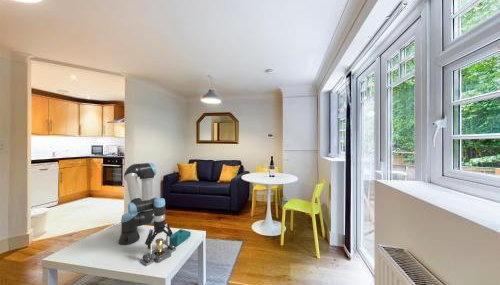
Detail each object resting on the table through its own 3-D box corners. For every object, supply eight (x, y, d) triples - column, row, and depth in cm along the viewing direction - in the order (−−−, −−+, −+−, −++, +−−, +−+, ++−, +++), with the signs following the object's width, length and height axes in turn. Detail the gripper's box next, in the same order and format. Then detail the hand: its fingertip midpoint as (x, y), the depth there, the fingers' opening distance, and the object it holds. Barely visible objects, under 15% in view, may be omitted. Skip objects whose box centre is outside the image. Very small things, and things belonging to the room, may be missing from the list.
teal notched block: (176, 247, 157) (177, 235, 157) (165, 244, 160) (166, 231, 160) (190, 237, 174) (191, 225, 174) (180, 234, 177) (181, 223, 177)
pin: (154, 256, 144) (154, 240, 144) (160, 253, 148) (160, 237, 148) (158, 259, 141) (158, 242, 141) (164, 255, 145) (164, 239, 145)
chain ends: (138, 260, 139) (138, 254, 139) (168, 246, 158) (168, 241, 158) (149, 268, 131) (149, 261, 131) (178, 252, 150) (178, 246, 150)
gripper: (145, 227, 132) (145, 258, 132) (177, 215, 152) (177, 243, 153) (139, 224, 136) (139, 255, 136) (171, 213, 157) (171, 240, 157)
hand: (159, 248), depth 145 cm, fingers open, 13 cm apart
